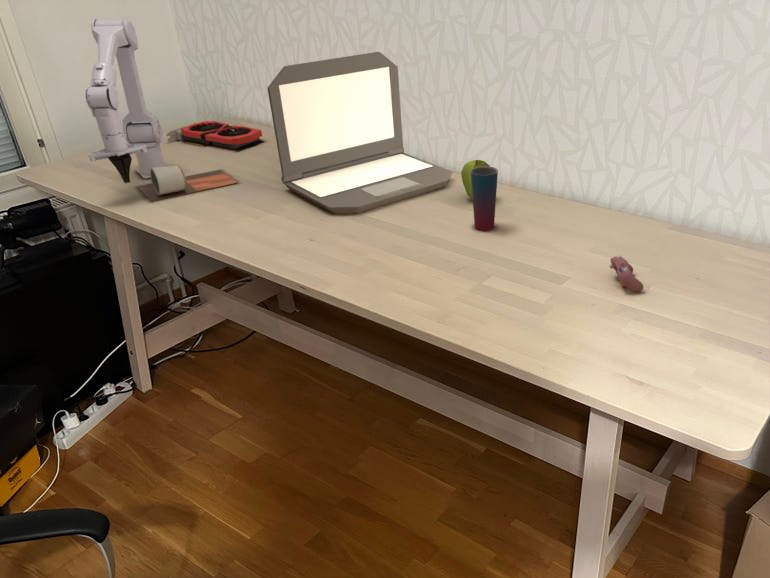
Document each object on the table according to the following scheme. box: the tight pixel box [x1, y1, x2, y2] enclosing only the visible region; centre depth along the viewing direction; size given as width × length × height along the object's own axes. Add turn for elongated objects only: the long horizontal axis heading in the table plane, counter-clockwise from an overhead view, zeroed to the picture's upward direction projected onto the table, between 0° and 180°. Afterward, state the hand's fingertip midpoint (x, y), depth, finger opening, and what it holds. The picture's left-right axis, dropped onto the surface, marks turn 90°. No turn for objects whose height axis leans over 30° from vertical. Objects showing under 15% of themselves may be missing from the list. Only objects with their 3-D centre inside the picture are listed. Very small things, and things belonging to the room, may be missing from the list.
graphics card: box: [165, 120, 265, 152], centre depth 244 cm, size 20×32×4 cm, turn 57°
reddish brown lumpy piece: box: [609, 254, 644, 293], centre depth 152 cm, size 10×5×7 cm, turn 5°
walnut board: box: [137, 169, 238, 203], centre depth 208 cm, size 15×25×1 cm, turn 126°
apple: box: [461, 159, 491, 201], centre depth 193 cm, size 9×8×12 cm
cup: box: [471, 165, 499, 232], centre depth 176 cm, size 7×7×15 cm
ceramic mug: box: [150, 165, 187, 195], centre depth 201 cm, size 11×8×8 cm
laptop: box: [267, 51, 454, 215], centre depth 196 cm, size 43×31×34 cm
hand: (126, 181), depth 195 cm, fingers closed
